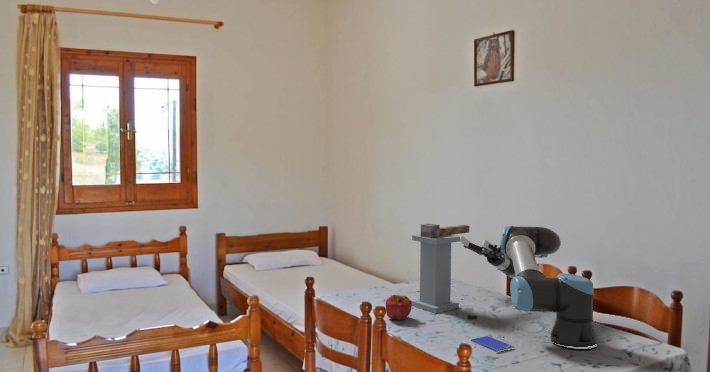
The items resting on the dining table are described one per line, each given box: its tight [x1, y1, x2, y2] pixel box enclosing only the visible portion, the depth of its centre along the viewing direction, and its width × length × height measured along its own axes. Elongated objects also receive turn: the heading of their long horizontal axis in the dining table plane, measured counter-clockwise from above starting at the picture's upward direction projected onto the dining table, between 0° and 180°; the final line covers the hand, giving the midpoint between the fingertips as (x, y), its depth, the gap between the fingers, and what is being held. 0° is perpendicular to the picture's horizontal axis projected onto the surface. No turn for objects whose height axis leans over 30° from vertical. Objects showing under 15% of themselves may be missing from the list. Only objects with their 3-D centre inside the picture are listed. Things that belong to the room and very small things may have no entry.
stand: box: [411, 233, 460, 314], centre depth 240 cm, size 14×14×30 cm
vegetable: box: [385, 294, 413, 321], centre depth 223 cm, size 11×10×10 cm
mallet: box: [420, 223, 471, 238], centre depth 243 cm, size 25×6×5 cm, turn 127°
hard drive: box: [470, 335, 515, 354], centre depth 195 cm, size 2×8×12 cm
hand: (471, 240), depth 253 cm, fingers open, 13 cm apart
